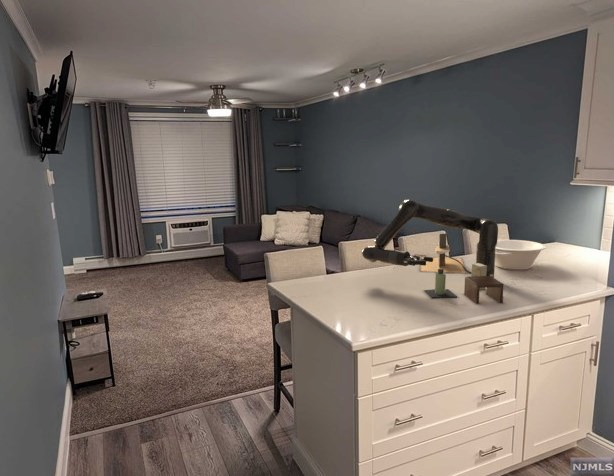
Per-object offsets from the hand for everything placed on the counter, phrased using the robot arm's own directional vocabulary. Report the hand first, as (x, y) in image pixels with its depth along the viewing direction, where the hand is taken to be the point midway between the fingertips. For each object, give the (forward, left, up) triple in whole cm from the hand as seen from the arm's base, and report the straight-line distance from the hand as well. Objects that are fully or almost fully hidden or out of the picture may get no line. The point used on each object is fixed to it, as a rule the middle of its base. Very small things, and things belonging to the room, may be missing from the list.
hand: (429, 261), depth 209 cm
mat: (+4, +5, -16) cm, 17 cm away
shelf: (+13, +22, -16) cm, 29 cm away
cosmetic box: (-4, +27, -16) cm, 31 cm away
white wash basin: (-44, +65, -16) cm, 80 cm away
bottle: (+4, +4, -15) cm, 16 cm away
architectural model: (-55, +26, -16) cm, 63 cm away
